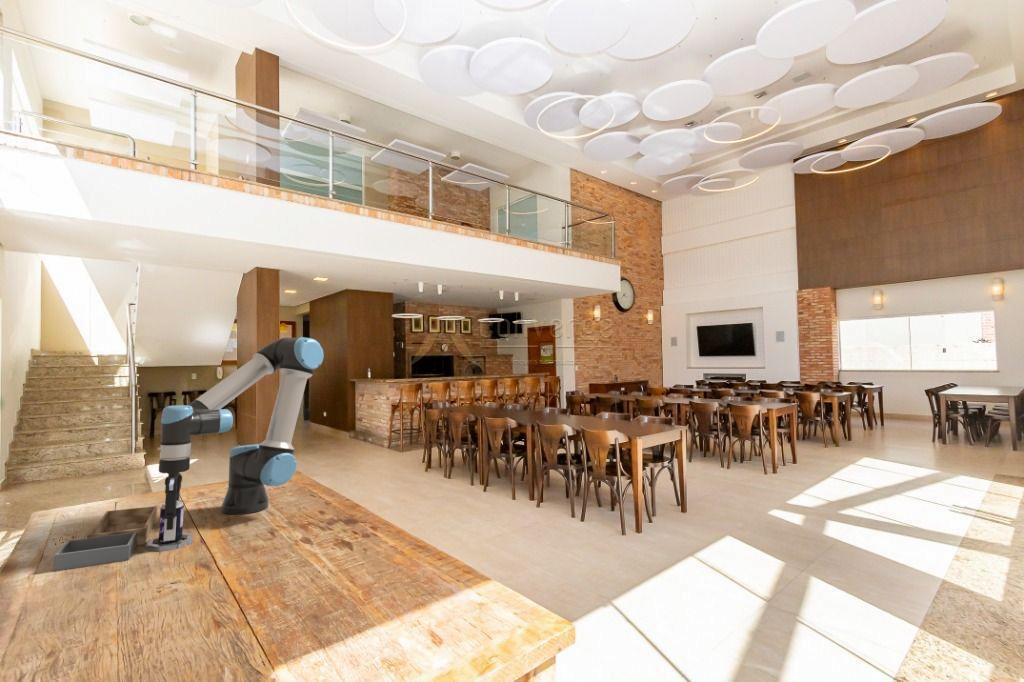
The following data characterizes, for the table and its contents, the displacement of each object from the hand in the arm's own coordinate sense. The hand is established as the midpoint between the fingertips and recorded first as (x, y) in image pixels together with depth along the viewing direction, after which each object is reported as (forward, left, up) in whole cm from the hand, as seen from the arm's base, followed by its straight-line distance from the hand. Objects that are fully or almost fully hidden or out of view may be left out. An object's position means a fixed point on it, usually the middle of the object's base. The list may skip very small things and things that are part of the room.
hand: (170, 536), depth 142 cm
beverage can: (0, 0, -2) cm, 2 cm away
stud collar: (0, 0, -2) cm, 2 cm away
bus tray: (+16, +3, -2) cm, 17 cm away
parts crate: (+13, -15, -2) cm, 20 cm away
